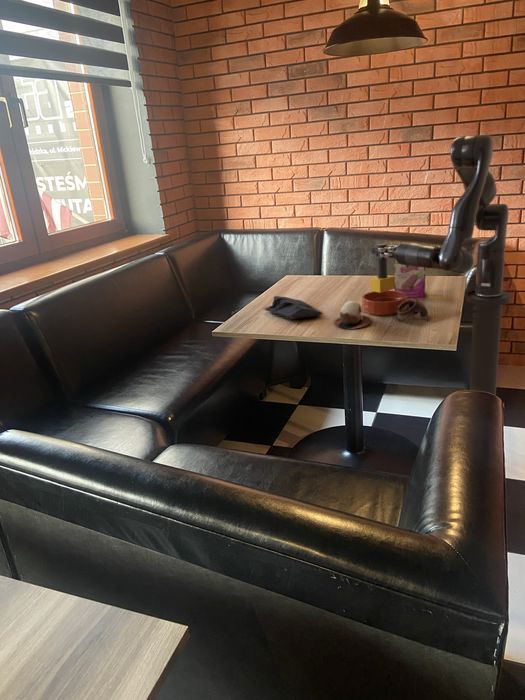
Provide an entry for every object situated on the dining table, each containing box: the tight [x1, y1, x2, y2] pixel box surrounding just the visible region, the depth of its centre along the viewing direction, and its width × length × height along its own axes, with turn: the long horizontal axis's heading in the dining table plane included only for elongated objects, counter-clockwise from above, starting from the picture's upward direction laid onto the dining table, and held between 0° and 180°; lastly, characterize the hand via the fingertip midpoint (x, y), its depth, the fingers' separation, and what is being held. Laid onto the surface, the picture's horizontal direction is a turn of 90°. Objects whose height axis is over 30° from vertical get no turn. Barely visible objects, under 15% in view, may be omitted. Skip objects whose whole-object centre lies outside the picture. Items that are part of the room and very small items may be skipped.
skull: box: [334, 300, 372, 330], centre depth 179 cm, size 12×10×10 cm
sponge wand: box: [369, 243, 395, 293], centre depth 186 cm, size 7×5×16 cm
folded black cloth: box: [264, 295, 323, 320], centre depth 196 cm, size 15×22×5 cm
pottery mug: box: [397, 298, 430, 322], centre depth 177 cm, size 12×10×8 cm
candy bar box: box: [393, 259, 426, 299], centre depth 200 cm, size 11×5×16 cm, turn 74°
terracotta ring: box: [361, 289, 408, 316], centre depth 190 cm, size 16×16×5 cm
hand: (375, 249), depth 187 cm, fingers closed on sponge wand, 3 cm apart
